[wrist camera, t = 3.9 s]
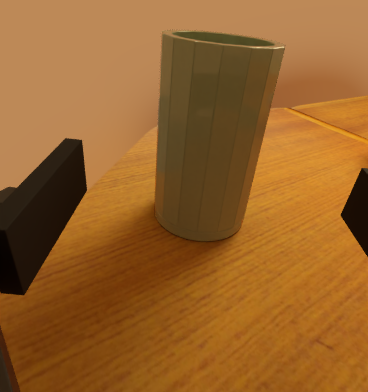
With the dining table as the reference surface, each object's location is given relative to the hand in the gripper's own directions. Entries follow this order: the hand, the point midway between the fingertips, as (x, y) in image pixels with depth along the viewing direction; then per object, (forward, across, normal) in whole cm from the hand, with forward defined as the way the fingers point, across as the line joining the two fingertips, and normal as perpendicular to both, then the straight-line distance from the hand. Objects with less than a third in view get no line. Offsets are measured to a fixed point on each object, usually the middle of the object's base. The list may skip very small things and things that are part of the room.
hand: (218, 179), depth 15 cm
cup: (+6, 0, -6) cm, 9 cm away
